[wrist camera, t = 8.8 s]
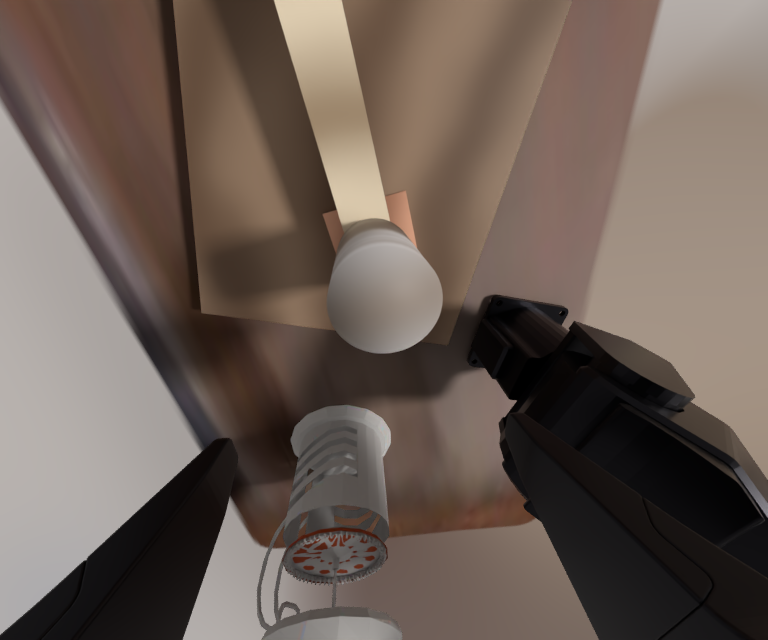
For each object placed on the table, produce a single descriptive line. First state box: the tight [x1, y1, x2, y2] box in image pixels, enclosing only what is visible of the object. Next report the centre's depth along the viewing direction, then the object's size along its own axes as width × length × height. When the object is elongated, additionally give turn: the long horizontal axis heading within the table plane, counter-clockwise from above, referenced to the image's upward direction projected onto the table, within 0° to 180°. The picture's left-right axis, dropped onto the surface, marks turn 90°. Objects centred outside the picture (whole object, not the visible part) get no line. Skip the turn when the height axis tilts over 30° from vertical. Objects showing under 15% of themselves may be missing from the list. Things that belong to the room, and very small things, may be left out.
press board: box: [173, 0, 572, 345], centre depth 15 cm, size 18×25×2 cm
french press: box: [257, 405, 402, 640], centre depth 17 cm, size 10×12×25 cm
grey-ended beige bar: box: [274, 0, 443, 353], centre depth 9 cm, size 20×4×8 cm, turn 13°
